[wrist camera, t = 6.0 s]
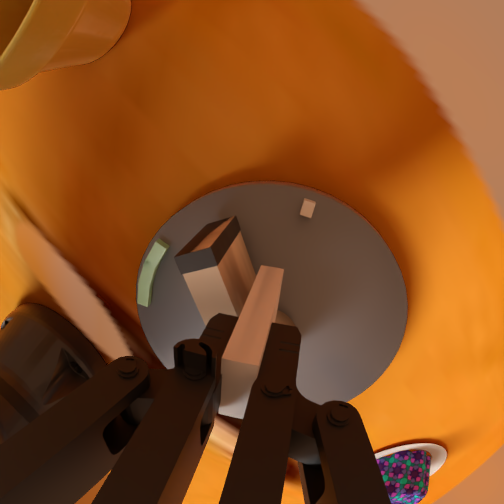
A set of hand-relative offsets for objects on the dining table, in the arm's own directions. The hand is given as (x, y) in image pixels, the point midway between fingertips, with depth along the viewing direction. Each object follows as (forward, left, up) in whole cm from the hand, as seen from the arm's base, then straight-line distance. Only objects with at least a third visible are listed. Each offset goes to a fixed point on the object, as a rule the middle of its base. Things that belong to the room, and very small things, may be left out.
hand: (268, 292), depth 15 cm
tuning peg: (-2, +1, -3) cm, 3 cm away
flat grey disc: (-4, -1, -5) cm, 6 cm away
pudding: (-21, -21, -5) cm, 30 cm away
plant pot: (+13, +16, -5) cm, 21 cm away
